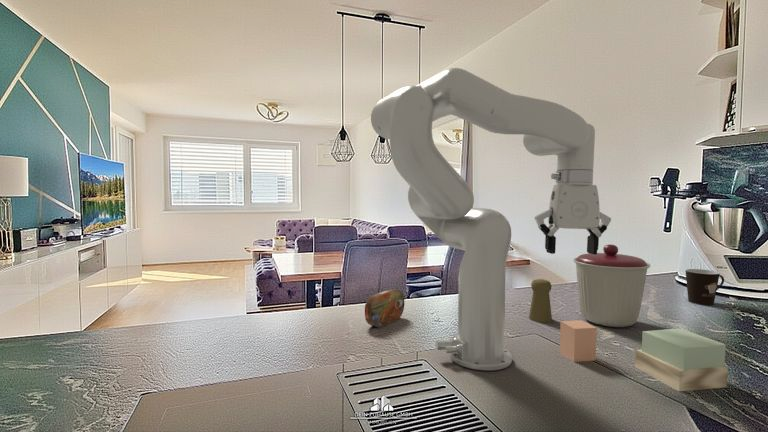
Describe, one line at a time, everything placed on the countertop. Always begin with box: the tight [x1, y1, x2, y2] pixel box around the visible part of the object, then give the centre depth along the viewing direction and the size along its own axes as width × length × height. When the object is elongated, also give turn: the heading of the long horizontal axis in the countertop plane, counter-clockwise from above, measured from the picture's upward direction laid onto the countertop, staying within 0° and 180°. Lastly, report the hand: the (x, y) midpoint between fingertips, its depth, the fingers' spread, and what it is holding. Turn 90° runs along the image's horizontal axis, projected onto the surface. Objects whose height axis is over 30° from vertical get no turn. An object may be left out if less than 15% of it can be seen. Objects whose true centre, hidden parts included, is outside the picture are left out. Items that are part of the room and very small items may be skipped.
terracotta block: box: [559, 319, 598, 363], centre depth 87 cm, size 5×5×7 cm
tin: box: [364, 288, 405, 328], centre depth 110 cm, size 15×3×8 cm, turn 143°
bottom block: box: [634, 348, 729, 392], centre depth 78 cm, size 10×10×4 cm
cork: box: [528, 278, 553, 324], centre depth 113 cm, size 6×6×11 cm
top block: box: [641, 328, 727, 371], centre depth 77 cm, size 9×9×4 cm
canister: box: [572, 243, 651, 328], centre depth 110 cm, size 18×18×21 cm
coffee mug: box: [685, 268, 725, 306], centre depth 129 cm, size 12×9×10 cm
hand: (571, 253), depth 94 cm, fingers open, 9 cm apart
